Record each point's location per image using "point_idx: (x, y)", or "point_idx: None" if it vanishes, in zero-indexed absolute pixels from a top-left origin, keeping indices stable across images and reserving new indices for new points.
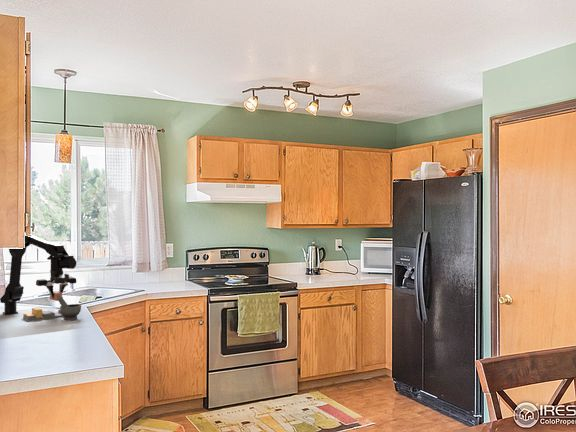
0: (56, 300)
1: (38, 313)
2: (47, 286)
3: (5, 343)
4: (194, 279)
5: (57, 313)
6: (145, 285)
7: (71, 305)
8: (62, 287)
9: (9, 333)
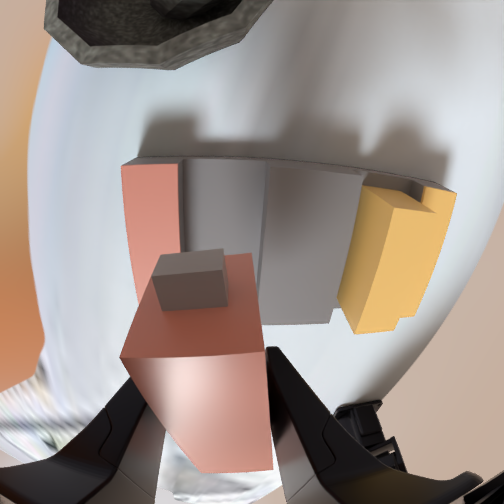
0: (249, 254)
1: (402, 199)
2: (476, 476)
3: None
4: None
5: None
6: (4, 446)
7: (105, 49)
8: (92, 476)
9: None
